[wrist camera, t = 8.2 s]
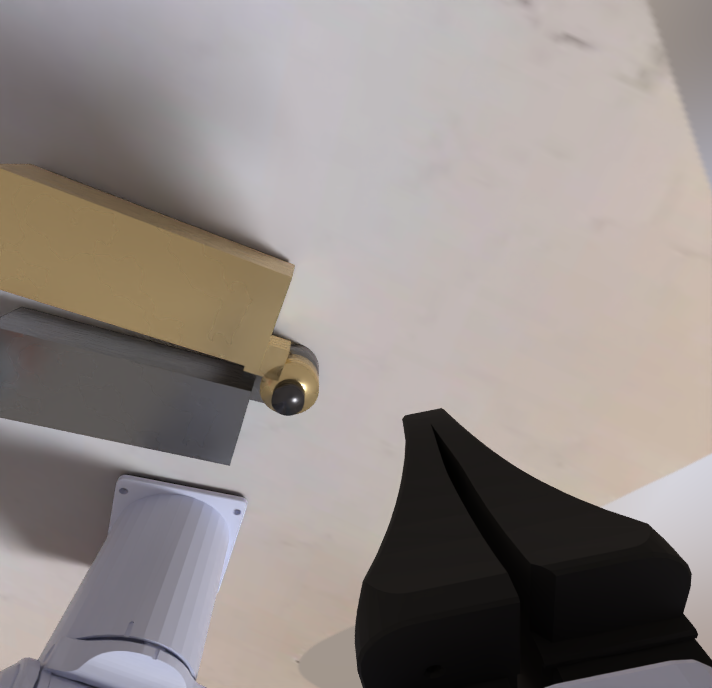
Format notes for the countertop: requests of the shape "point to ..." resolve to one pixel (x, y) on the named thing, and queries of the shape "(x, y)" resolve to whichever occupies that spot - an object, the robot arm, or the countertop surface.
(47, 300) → the swing leaf
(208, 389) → the fixed leaf
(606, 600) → the robot arm
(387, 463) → the countertop surface
